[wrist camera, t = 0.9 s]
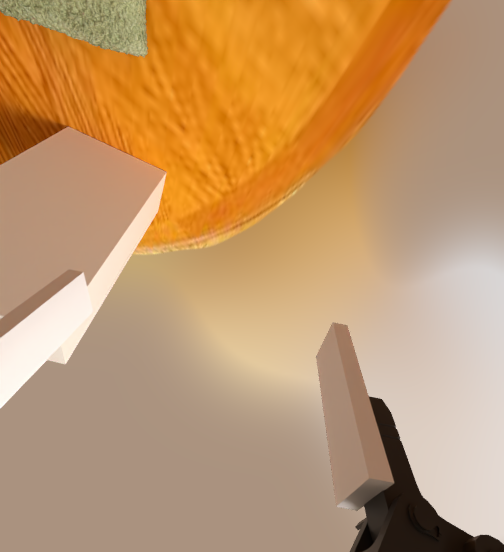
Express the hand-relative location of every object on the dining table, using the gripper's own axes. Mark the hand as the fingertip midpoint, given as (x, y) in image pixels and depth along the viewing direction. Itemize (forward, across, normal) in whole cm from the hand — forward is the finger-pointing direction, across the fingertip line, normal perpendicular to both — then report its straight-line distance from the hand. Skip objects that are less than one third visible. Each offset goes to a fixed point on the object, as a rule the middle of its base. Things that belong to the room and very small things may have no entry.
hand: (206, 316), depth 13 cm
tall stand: (+30, -22, -3) cm, 37 cm away
